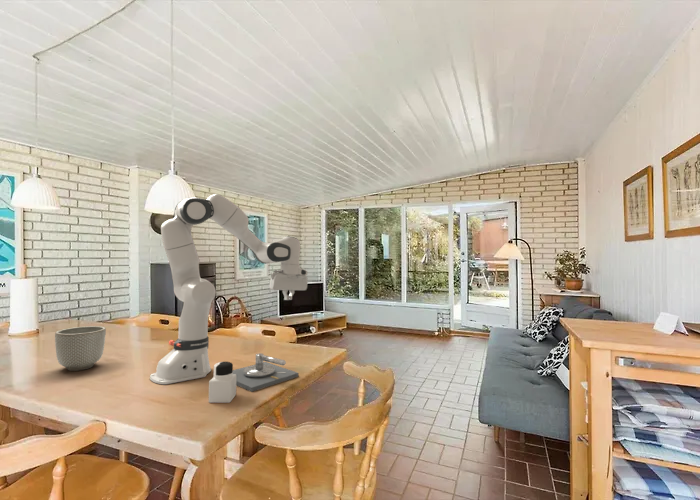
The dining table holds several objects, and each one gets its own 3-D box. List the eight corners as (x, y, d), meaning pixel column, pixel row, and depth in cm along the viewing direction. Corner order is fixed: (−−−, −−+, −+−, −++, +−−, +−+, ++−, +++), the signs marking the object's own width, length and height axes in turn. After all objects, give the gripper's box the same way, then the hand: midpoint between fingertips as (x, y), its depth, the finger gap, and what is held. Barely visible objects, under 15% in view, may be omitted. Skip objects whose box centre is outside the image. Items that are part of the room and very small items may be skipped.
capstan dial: (237, 373, 142) (237, 355, 142) (260, 366, 152) (260, 348, 152) (273, 384, 131) (273, 364, 131) (295, 375, 140) (295, 356, 141)
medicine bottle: (236, 394, 125) (236, 360, 125) (230, 403, 118) (230, 366, 118) (215, 394, 125) (216, 359, 125) (208, 403, 118) (208, 366, 118)
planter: (114, 363, 158) (115, 327, 158) (75, 376, 142) (76, 335, 142) (84, 360, 163) (85, 324, 163) (43, 372, 146) (44, 332, 146)
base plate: (251, 391, 128) (251, 387, 128) (219, 377, 142) (219, 373, 142) (298, 376, 144) (298, 372, 145) (265, 365, 159) (265, 361, 159)
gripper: (275, 269, 162) (274, 300, 161) (310, 271, 177) (308, 300, 176) (267, 269, 166) (265, 299, 165) (301, 271, 181) (300, 299, 180)
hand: (288, 299), depth 170 cm, fingers closed
